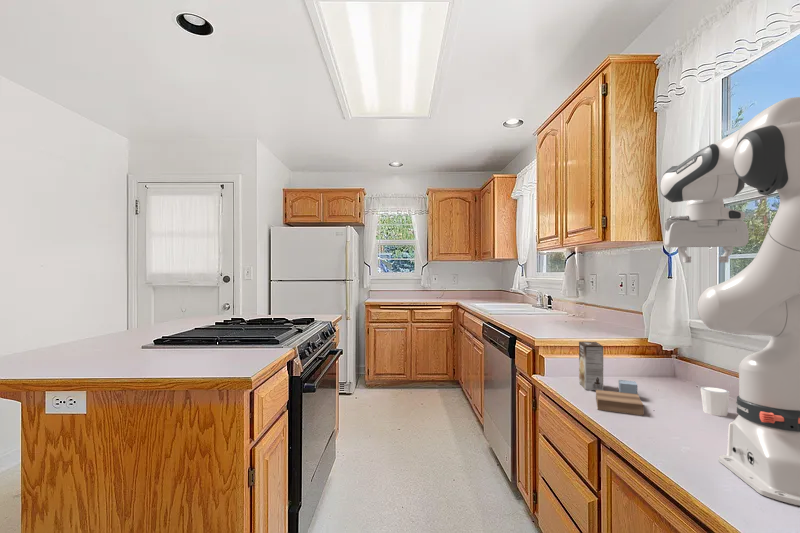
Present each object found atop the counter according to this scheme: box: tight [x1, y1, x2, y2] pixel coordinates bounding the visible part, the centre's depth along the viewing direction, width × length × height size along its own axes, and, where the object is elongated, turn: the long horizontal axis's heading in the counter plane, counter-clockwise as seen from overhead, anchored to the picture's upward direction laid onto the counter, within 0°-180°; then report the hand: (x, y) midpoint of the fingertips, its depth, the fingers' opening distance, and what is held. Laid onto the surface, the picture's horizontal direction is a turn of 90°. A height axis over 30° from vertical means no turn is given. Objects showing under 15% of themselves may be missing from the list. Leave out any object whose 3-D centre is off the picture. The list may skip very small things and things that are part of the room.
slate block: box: [618, 379, 639, 395], centre depth 133 cm, size 5×5×5 cm
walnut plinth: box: [595, 389, 645, 416], centre depth 123 cm, size 12×12×3 cm
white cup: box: [700, 386, 731, 417], centre depth 118 cm, size 7×7×7 cm
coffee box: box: [578, 341, 604, 391], centre depth 145 cm, size 9×6×16 cm
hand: (705, 262), depth 115 cm, fingers open, 8 cm apart
